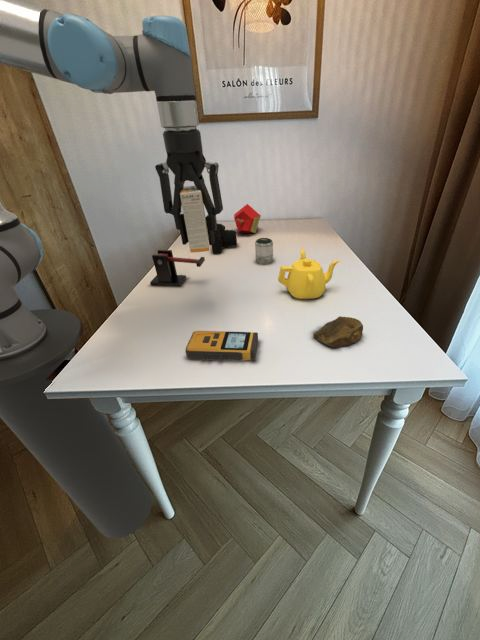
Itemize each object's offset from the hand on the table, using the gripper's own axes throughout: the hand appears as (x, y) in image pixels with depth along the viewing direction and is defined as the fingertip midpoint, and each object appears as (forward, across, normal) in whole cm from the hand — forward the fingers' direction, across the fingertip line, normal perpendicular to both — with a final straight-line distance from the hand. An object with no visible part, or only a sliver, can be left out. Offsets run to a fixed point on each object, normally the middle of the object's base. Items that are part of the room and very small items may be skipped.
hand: (199, 242), depth 77 cm
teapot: (+18, -27, -12) cm, 35 cm away
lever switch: (+12, +12, -14) cm, 22 cm away
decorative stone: (+18, -35, +11) cm, 41 cm away
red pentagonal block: (+18, +1, -65) cm, 68 cm away
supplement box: (+1, 0, 0) cm, 1 cm away
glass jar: (+18, -11, -33) cm, 40 cm away
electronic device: (+19, -9, +19) cm, 28 cm away
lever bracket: (+18, +18, -14) cm, 29 cm away
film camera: (+19, +7, -46) cm, 50 cm away
